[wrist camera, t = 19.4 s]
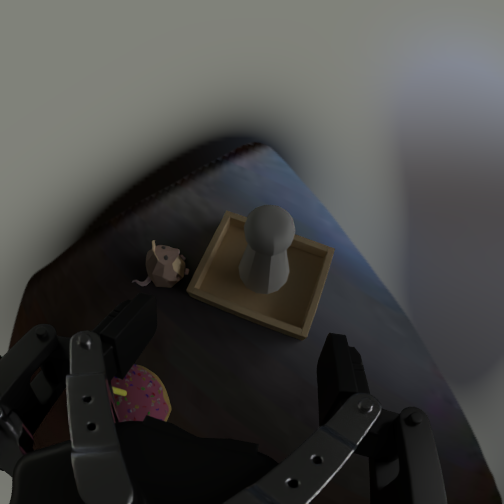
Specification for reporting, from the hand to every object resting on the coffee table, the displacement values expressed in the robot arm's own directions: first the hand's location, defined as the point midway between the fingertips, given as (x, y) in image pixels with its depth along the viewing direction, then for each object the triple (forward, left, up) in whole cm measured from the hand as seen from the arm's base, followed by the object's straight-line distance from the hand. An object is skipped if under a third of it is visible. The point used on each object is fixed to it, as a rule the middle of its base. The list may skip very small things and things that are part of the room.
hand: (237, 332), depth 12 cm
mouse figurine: (-14, +5, -21) cm, 26 cm away
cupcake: (-9, -10, -21) cm, 25 cm away
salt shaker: (-2, +10, -20) cm, 22 cm away
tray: (-2, +10, -20) cm, 23 cm away
